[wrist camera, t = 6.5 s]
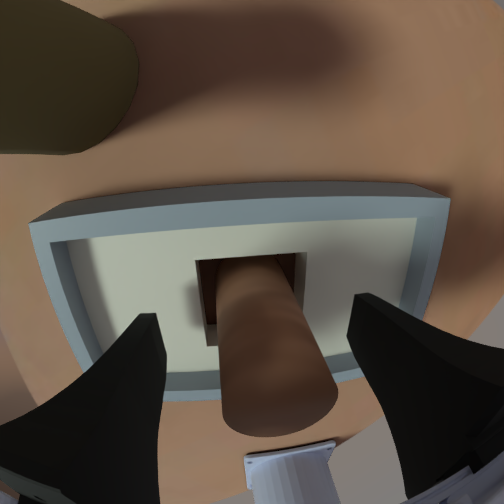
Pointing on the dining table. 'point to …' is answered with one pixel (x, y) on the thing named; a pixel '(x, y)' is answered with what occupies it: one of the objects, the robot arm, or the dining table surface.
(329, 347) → the box
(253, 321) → the peg
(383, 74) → the dining table surface
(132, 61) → the cork
